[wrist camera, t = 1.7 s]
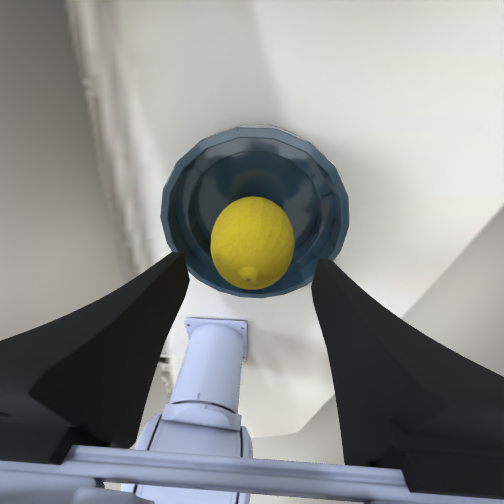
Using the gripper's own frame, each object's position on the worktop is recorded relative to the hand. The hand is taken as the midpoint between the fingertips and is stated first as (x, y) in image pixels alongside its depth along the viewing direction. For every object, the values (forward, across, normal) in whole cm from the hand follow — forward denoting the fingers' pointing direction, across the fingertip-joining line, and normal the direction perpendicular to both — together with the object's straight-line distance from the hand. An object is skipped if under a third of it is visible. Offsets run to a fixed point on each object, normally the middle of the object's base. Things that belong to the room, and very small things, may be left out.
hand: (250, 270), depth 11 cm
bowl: (+8, 0, 0) cm, 8 cm away
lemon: (+7, 0, 0) cm, 7 cm away
